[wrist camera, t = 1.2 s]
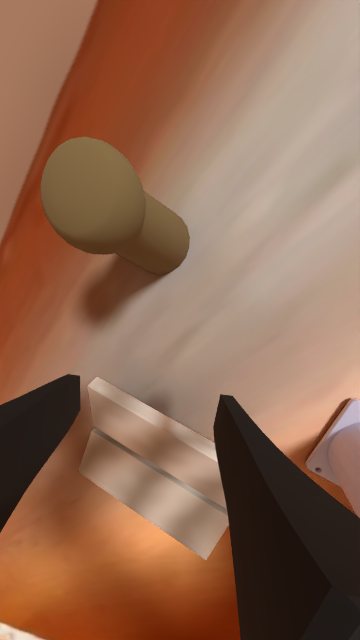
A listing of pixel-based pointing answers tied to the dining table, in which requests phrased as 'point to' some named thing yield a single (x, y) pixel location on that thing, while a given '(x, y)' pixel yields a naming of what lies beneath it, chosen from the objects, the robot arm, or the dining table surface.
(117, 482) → the laid board
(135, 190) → the cork
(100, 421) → the board
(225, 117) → the dining table surface
